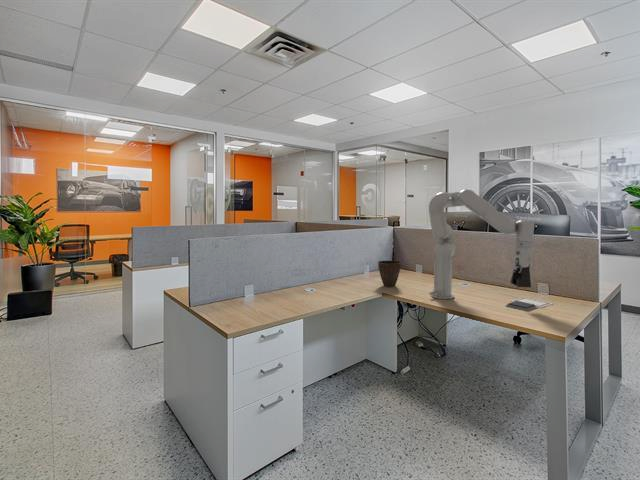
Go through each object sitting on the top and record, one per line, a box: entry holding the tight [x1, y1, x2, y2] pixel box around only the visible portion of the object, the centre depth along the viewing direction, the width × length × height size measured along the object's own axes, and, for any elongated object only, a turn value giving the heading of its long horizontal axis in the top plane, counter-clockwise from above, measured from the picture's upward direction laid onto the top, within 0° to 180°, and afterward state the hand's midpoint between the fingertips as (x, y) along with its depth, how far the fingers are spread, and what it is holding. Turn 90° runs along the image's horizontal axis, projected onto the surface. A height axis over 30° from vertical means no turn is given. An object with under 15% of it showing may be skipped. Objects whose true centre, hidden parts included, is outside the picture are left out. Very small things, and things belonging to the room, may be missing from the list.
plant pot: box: [377, 260, 402, 288], centre depth 220 cm, size 15×15×16 cm
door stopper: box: [510, 264, 532, 288], centre depth 169 cm, size 9×6×12 cm, turn 173°
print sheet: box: [510, 297, 553, 309], centre depth 178 cm, size 13×15×1 cm
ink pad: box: [506, 301, 538, 312], centre depth 170 cm, size 10×10×2 cm
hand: (520, 279), depth 170 cm, fingers closed on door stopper, 5 cm apart
